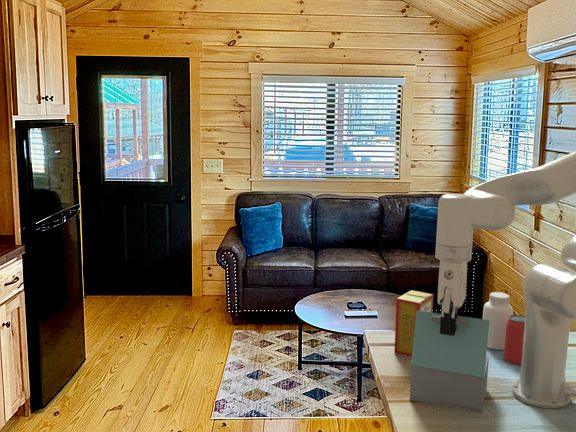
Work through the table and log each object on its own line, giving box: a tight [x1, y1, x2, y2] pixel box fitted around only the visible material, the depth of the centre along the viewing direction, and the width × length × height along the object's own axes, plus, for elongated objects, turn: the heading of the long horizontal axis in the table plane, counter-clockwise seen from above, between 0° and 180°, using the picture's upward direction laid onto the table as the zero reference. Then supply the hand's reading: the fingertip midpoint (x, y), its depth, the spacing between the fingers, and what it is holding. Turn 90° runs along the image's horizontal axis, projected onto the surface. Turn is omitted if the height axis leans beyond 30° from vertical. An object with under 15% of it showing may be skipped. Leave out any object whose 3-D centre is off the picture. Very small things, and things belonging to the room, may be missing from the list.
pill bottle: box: [482, 291, 514, 351], centre depth 171 cm, size 8×8×15 cm
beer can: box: [503, 314, 525, 366], centre depth 161 cm, size 7×7×12 cm
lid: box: [410, 310, 489, 377], centre depth 134 cm, size 16×12×5 cm
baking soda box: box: [394, 289, 434, 358], centre depth 167 cm, size 10×6×16 cm
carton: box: [409, 355, 490, 414], centre depth 142 cm, size 16×12×9 cm
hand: (448, 332), depth 134 cm, fingers closed
